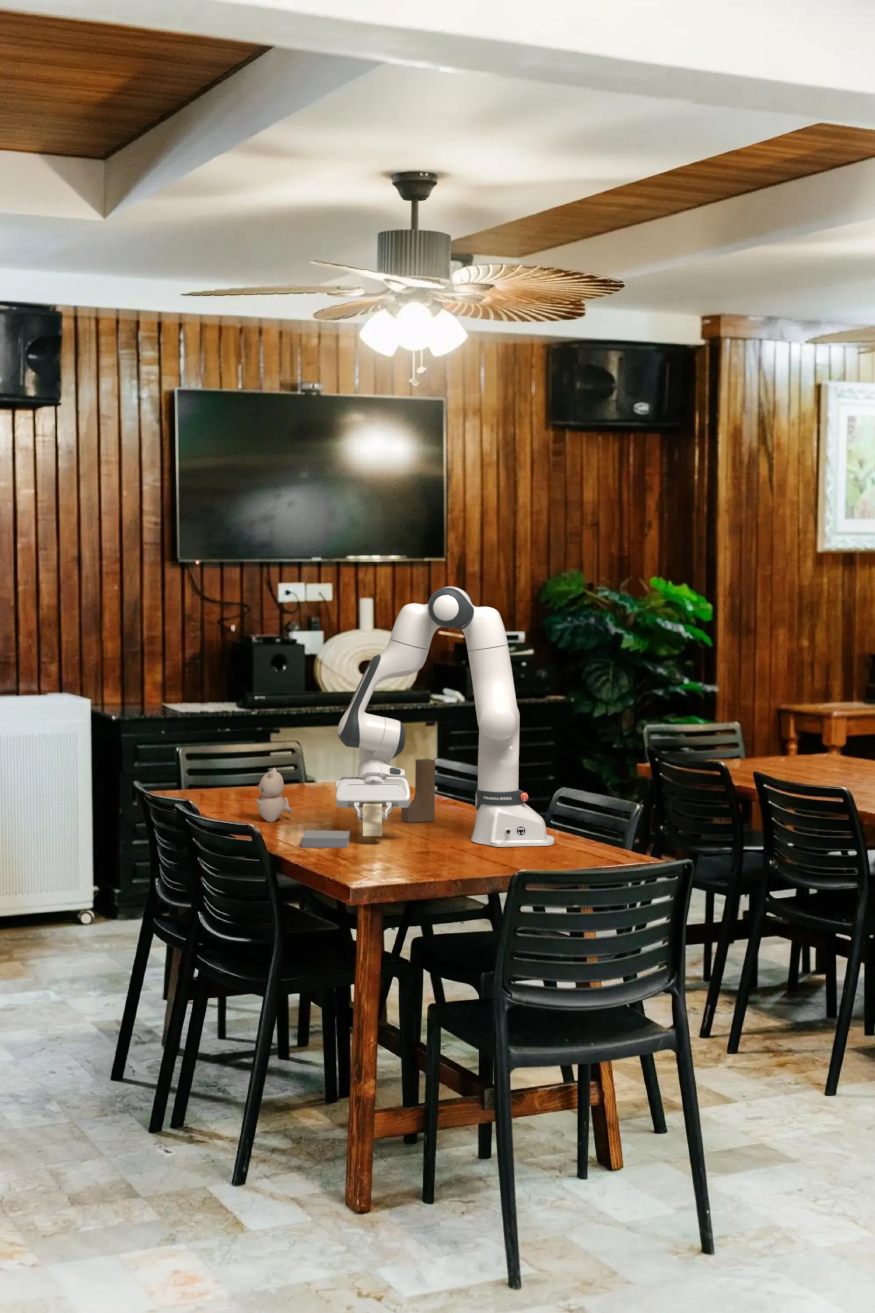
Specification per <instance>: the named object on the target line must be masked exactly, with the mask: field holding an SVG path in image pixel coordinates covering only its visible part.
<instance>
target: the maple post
mask: <svg viewBox="0 0 875 1313" xmlns="http://www.w3.org/2000/svg"><path fill="white" fill-rule="evenodd" d="M362 811H363V820H362V836H363V837H382V836H383V820H382V811H383V808H382V803H364V804H363V808H362Z"/></svg>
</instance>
